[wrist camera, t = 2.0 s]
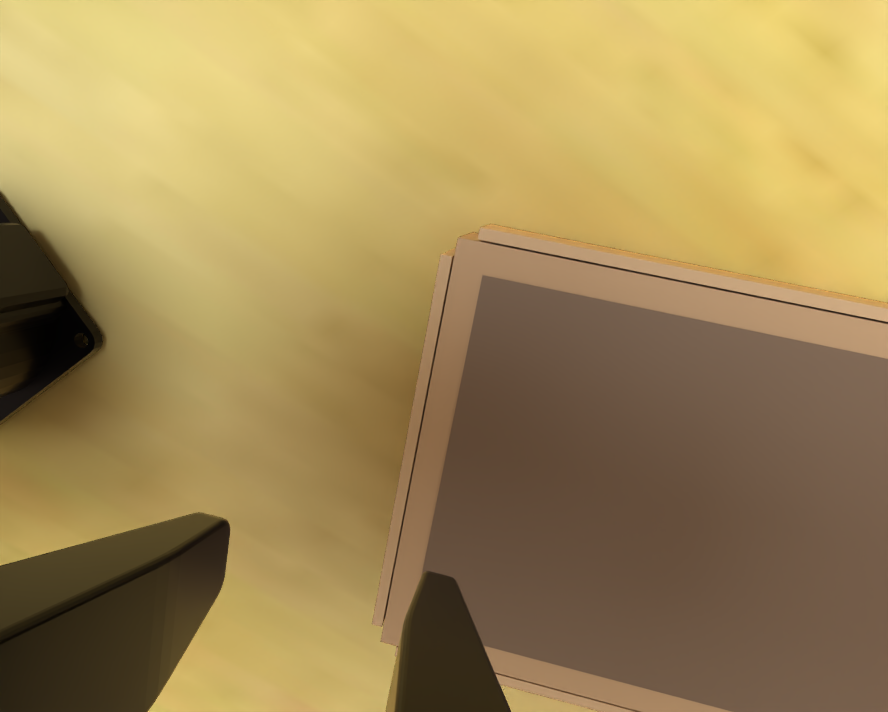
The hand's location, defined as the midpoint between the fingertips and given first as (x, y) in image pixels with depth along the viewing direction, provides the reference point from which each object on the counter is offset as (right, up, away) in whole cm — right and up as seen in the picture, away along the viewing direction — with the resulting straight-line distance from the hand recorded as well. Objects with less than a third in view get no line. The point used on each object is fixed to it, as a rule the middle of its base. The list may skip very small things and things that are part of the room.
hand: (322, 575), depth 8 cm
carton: (+9, -1, +12) cm, 15 cm away
